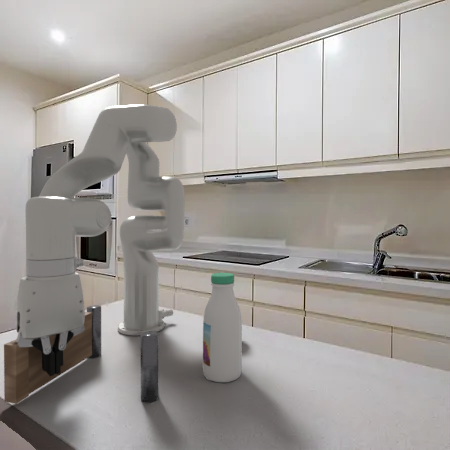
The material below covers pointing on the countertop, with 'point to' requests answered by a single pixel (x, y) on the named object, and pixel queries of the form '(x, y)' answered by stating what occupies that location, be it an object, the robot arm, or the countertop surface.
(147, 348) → the post
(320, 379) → the countertop surface
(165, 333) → the countertop surface
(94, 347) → the hinge post
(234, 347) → the milk bottle
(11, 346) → the walnut gate
